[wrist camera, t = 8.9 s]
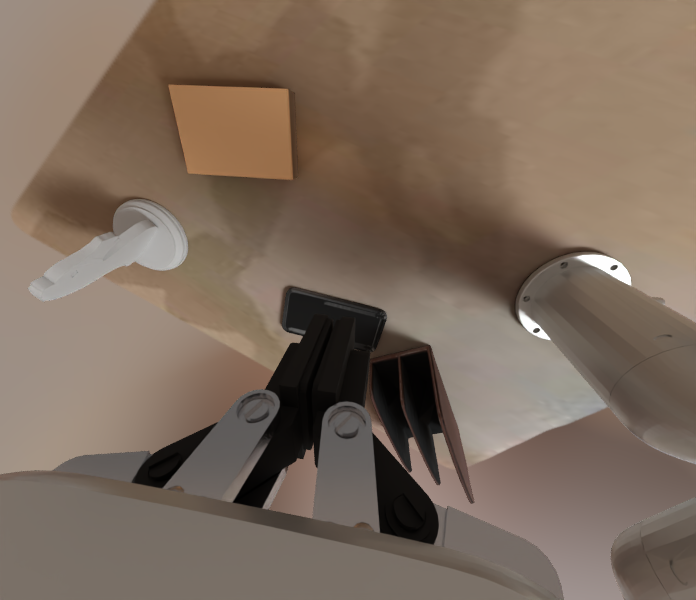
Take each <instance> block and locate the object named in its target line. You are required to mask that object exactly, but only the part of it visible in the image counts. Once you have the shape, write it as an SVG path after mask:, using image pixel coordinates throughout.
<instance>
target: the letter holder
mask: <svg viewBox="0 0 696 600" xmlns="http://www.w3.org/2000/svg"><path fill="white" fill-rule="evenodd" d="M369 389H370V396H371V399H372V402H373V405H374V408H375V410H376V412H377V415H378V417H379V419H380V421H381V423H382V425H383V427H384V429H385V432H386V434H387V436H388V437H389V439H390V441H391V443H392V445H393V447H394V449H395V451H396V453H397V455H398V457H399V458H400V460H401V462H402V464H403V465H404V467H405V468H406V469H407V471H408V472H411V471H412V468H411V461H410V453H409V443H408V438H411V437H414V439H415V441H416V444H417V446H418V448H419V450H420V453H421V455H422V457H423V459H424V462H425V464H426V466H427V468H428V470H429V472H430V473H431V476H432V477H433V479H434V481H435V483H436V484H437V485H440V477H439V471H438V464H437V459H436V453H435V447H434V441H433V436H432V434H437V433H443V434H444V437H445V440H446V443H447V446H448V448H449V452H450V454H451V457H452V460H453V463H454V466H455V468H456V471H457V474H458V476H459V479H460V481H461V483H462V486H463V488H464V491H465V493H466V495H467V498H468V500H469V502H470V503H471V504H472V503H474V498H473V494H472V489H471V485H470V480H469V475H468V469H467V464H466V460H465V456H464V452H463V447H462V443H461V439H460V434H459V429H458V426H457V423H456V420H455V418H454V415H453V412H452V409H451V406H450V403H449V400H448V397H447V394H446V391H445V388H444V385H443V382H442V379H441V376H440V373H439V370H438V367H437V364H436V361H435V358H434V355H433V352H432V348H431V346H430V345H428V346H424V347H419V348H415V349H410V350H406V351H402V352H398V353H394V354H390V355H385V356H381V357H377V358H373V359H370V384H369Z"/></svg>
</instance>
